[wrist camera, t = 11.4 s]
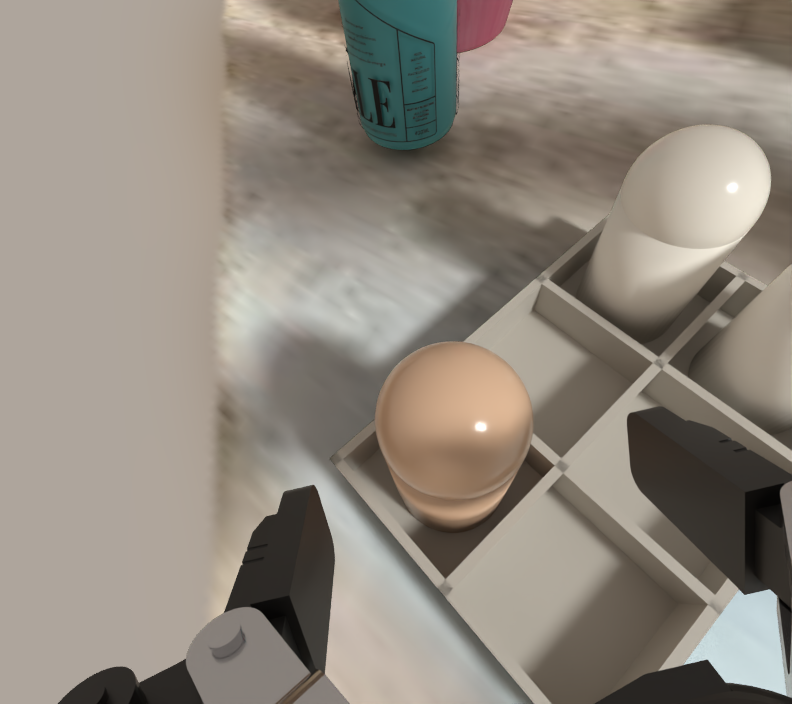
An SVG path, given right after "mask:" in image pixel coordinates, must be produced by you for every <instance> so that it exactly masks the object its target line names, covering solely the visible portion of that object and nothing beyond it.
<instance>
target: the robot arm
mask: <svg viewBox="0 0 792 704" xmlns="http://www.w3.org/2000/svg"><path fill="white" fill-rule="evenodd" d="M627 433H628V446H629V458H630V469H631V473H632V476H633V479H634V481H635V483H636V485H637V487H638V488H639V490H640V491H641V492H642V493H643V494H644V495H645V496H646V497H647V498H648V499H649V500H650V501H651V502H652V503H653V504H654V505H655V506H656V507H657V508H658V509H659V510H660V511H661V512H662V513H663V514H664V515H665V516H666V517H667V518H668V519H669V520H670V521H671V522H672V523H673V524H674V525H675V526H676V527H677V528H678V529H679V530H680V531H681V532H682V533H683V534H684V535H685V536H686V537H687V538H688V539H689V540H690V541H691V542H692V543H693V544H694V545H695V546H696V547H697V548H698V549H699V550H700V551H701V552H702V553H703V554H704V555H705V556H706V557H707V558H708V559H709V560H710V561H711V562H712V563H713V564H714V565H715V566H716V567H717V568H718V569H719V570H720V571H721V572H722V573H723V574H724V575H725V576H726V577H727V578H728V579H729V580H730V581H731V582H732V583H733V584H734V585H735V586H736V587H737V588H738V589H739V590H740V591H741V592H742V593H743V594H744V595H746V594H750V593H755V592H759V591H763V590H768V589H770V590H771V591H773V592H774V593H775V594H776V595H777V617H778V625H779V633H780V642H781V650H782V659H783V667H784V675H785V684H786V693H787V696H785V695H782V694H779V693H776V692H773V691H769V690H765V689H761V688H757V687H753V686H747V685H741V684H734V683H725V682H724V680H723V679H722V678H721V676H720V675H719V674H718V673H717V671H716V670H715V669H714V667H713V666H712V665H711V664H710V662H709V661H708V660H704V661H699V662H695V663H691V664H686V665H682V666H678V667H673V668H669V669H665V670H660V671H656V672H652V673H647V674H644V675H642V676H641V677H639V678H637V679H636V680H634V681H632V682H630V683H629V684H627V685H625V686H624V687H622V688H620V689H618V690H617V691H615V692H613V693H612V694H610V695H608V696H606V697H605V698H603V699H601V700H600V701H598V702H596V703H595V704H792V474H790V473H788V472H787V471H785V470H783V469H782V468H780V467H778V466H777V465H775V464H773V463H772V462H770V461H768V460H767V459H765V458H763V457H762V456H760V455H758V454H757V453H755V452H753V451H752V450H747V448H746V447H745V446H743V445H742V444H740V443H738V442H737V441H735V440H734V441H732V440H731V438H730V437H728V436H727V435H725V434H723V433H722V432H720V431H718V430H717V429H715V428H713V427H710V426H707V425H704V424H701V423H697V422H694V421H691V420H687V421H685V420H684V419H682V418H681V417H679V416H677V415H676V414H674V413H673V412H671V411H669V410H668V409H666V408H665V407H662V406H657V407H653V408H649V409H644V410H640V411H636V412H631V413H629V414H628V416H627ZM242 563H243V565H241V567H240V570H239V572H238V575H237V578H236V581H235V584H234V586H233V589H232V592H231V595H230V597H229V600H228V603H227V606H226V609H225V611H224V613H223V614H221V615H220V616H218V617H216V618H215V619H213V620H212V621H211V622H210V623H208V624H207V625H206V626H205V627H204V628H203V629H202V630H201V631H200V632H199V633H198V634H197V636H196V637H195V639H194V640H193V641H192V643H191V645H190V647H189V649H188V652H187V657H186V659H185V660H183V661H181V662H179V663H178V664H176V665H174V666H172V667H170V668H168V669H166V670H164V671H162V672H160V673H158V674H156V675H154V676H152V677H150V678H148V679H146V680H144V681H142V682H140V683H139V682H138V680H137V678H136V676H135V674H134V673H133V671H132V670H131V669H129V668H126V667H113V668H109V669H106V670H103V671H100V672H99V673H96V674H94V675H92V676H91V677H89V678H87V679H86V680H84V681H83V682H81V683H80V684H79V685H77V686H76V687H75V688H74V689H72V690H71V691H70V692H69V693H68V694H67V695H66V696H65V697H63V699H62V700H61V701H60V702H59V703H58V704H349V702H348V701H347V700H346V699H345V698H344V696H343V695H342V694H341V693H340V692H339V690H338V689H337V688H336V687H335V686H334V685H333V683H332V682H331V681H330V680H329V679H328V677H327V676H326V675H325V665H326V654H327V642H328V631H329V620H330V609H331V598H332V586H333V575H334V564H335V554H334V546H333V540H332V536H331V533H330V529H329V526H328V523H327V520H326V516H325V513H324V510H323V507H322V504H321V500H320V497H319V494H318V491H317V489H316V487H315V486H314V485H310V486H306V487H302V488H297V489H293V490H289V491H285V492H284V493H283V496H282V499H281V502H280V506H279V509H278V512H277V514H275V515H270V516H266V517H265V518H264V520H263V521H262V522H261V523H260V524H259V526H258V527H257V528H256V529H255V530H254V532H253V533H252V536H251V539H250V542H249V545H248V547H247V552H246V553H245V556H244V558H243V561H242Z"/></svg>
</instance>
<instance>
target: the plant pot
mask: <svg viewBox="0 0 792 704" xmlns="http://www.w3.org/2000/svg"><path fill="white" fill-rule="evenodd" d="M512 1H513V0H457V13H458V16H459V15H460V16H459V17H458V41H457V53H459V52H464V51H468V50H472V49H475V48H478V47H480V46H482V45H485V44H486V43H488V42H490V41H491V40H493V39H494V38H495V37H496V36H497V35H498V34H499V33H500V32H501V31H502V29H503V28H504V26H505V23H506V20H507V17H508V14H509V11H510V8H511V5H512ZM459 8H460V10H459ZM459 19H460V22H459ZM459 29H460V32H459ZM459 33H460V34H459ZM459 41H460V42H459ZM459 44H460V45H459Z"/></svg>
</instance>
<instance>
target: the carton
mask: <svg viewBox="0 0 792 704" xmlns="http://www.w3.org/2000/svg"><path fill="white" fill-rule="evenodd" d="M608 217H609V215H608V216H606V217H605V218H604V219H603V220H602V221H601V222H600V223H598V224H597V225H596V226H595V227H594V228H593V229H592V230H590V231H589V232H588V233H587V234H586V235H585V236H584V237H582V238H581V239H580V240H579V241H578V242H577V243H575V244H574V245H573V246H572V247H571V248H570V249H569V250H567V251H566V252H565V253H564V254H563V255H562V256H561V257H559V258H558V259H557V260H556V261H555V262H554V263H553V264H551V265H550V266H549V267H548V268H547V269H546V270H545V271H543V272H542V273H541V274H540V275H539V276H538V277H537V278H535V279H534V280H533V281H532V282H531V283H530V284H529V285H527V286H526V287H525V288H524V289H523V290H522V291H521V292H519V293H518V294H517V295H516V296H515V297H514V298H513V299H511V300H510V301H509V302H508V303H507V304H506V305H505V306H503V307H502V308H501V309H500V310H499V311H498V312H497V313H495V314H494V315H493V316H492V317H491V318H490V319H489V320H487V321H486V322H485V323H484V324H483V325H482V326H481V327H479V328H478V329H477V330H476V331H475V332H474V333H473V334H471V335H470V336H469V337H468V338H467V339H466V340H465V341H463V342H467V343H472V344H475V345H479V346H481V347H484V348H486V349H488V350H490V351H492V352H493V353H495V354H497V355H498V356H500V357H501V358H502V359H504V360H505V361H506V362H507V363H508V364H509V365H510V366H511V367H512V368H513V369H514V370H515V371H516V373H517V374H518V375H519V377H520V378H521V380H522V382H523V383H524V385H525V387H526V390H527V392H528V394H529V397H530V400H531V404H532V410H533V420H534V428H533V436H532V440H531V444H530V447H529V450H528V453H527V455H526V457H525V459H524V461H523V463H522V465H521V467H520V468H519V470H518V472H517V474H516V476H515V477H514V479H513V481H512V483H511V485H510V486H509V488H508V490H507V492H506V493H505V495H504V497H503V499H502V501H501V502H500V504H499V506H498V508H497V509H496V511H495V512H494V513H493V515H492V516H491V517H490V518H489V519H488V520H487V521H486V522H484V523H483V524H481V525H480V526H478V527H476V528H474V529H472V530H469V531H465V532H459V533H446V532H441V531H437V530H434V529H431V528H429V527H427V526H425V525H424V524H422V523H421V522H419V521H418V520H417V519H416V518H415V517H414V516H413V515H412V514H411V513H410V512H409V511H408V509H407V508H406V506H405V504H404V503H403V501H402V498H401V496H400V494H399V491H398V489H397V487H396V484H395V482H394V479H393V477H392V475H391V472H390V470H389V468H388V465H387V463H386V461H385V458H384V456H383V454H382V451H381V449H380V446H379V443H378V439H377V435H376V428H375V419H374V420H373V421H372V422H371V423H370V424H368V425H367V426H366V427H365V428H364V429H363V430H362V431H360V432H359V433H358V434H357V435H356V436H355V437H354V438H352V439H351V440H350V441H349V442H348V443H347V444H346V445H344V446H343V447H342V448H341V449H340V450H339V451H338V452H336V453H335V454H334V455H333V456H332V457H331V458H330V460H331V461H332V463H333V464H334V465H335V466H336V467H337V469H338V470H339V471H340V472H341V473H342V475H343V476H344V477H345V478H346V479H347V481H348V482H349V483H350V484H351V485H352V486H353V488H354V489H355V490H356V491H357V492H358V494H359V495H360V496H361V497H362V498H363V500H364V501H365V502H366V503H367V504H368V506H369V507H370V508H371V509H372V510H373V512H374V513H375V514H376V515H377V516H378V518H379V519H380V520H381V521H382V522H383V524H384V525H385V526H386V527H387V528H388V530H389V531H390V532H391V533H392V534H393V536H394V537H395V538H396V539H397V540H398V542H399V543H400V544H401V545H402V546H403V547H404V549H405V550H406V551H407V552H408V553H409V555H410V556H411V557H412V558H413V559H414V561H415V562H416V563H417V564H418V565H419V567H420V568H421V569H422V570H423V571H424V573H425V574H426V575H427V576H428V577H429V579H430V580H431V581H432V582H433V583H434V585H435V586H436V587H437V588H438V589H439V591H440V592H441V593H442V594H443V595H444V597H445V598H446V599H447V600H448V601H449V602H450V604H451V605H452V606H453V607H454V608H455V610H456V611H457V612H458V613H459V614H460V616H461V617H462V618H463V619H464V620H465V622H466V623H467V624H468V625H469V626H470V628H471V629H472V630H473V631H474V632H475V634H476V635H477V636H478V637H479V638H480V640H481V641H482V642H483V643H484V644H485V646H486V647H487V648H488V649H489V650H490V652H491V653H492V654H493V655H494V656H495V658H496V659H497V660H498V661H499V662H500V663H501V665H502V666H503V667H504V668H505V669H506V671H507V672H508V673H509V674H510V675H511V677H512V678H513V679H514V680H515V681H516V683H517V684H518V685H519V686H520V687H521V689H522V690H523V691H524V692H525V693H526V695H527V696H528V697H529V698H530V699H531V701H532V702H533V703H534V704H595V703H596V702H598V701H600V700H601V699H603V698H605V697H606V696H608V695H610V694H612V693H613V692H615V691H617V690H618V689H620V688H622V687H624V686H625V685H627V684H629V683H630V682H632V681H634V680H636V679H637V678H639V677H641V676H642V675H644V674H647V673H652V672H656V671H660V670H665V669H669V668H673V667H678V666H682V665H683V664H684V663H685V662H686V660H687V659H688V658H689V656H690V655H691V653H692V652H693V651H694V649H695V648H696V647H697V645H698V644H699V643H700V641H701V640H702V639H703V637H704V636H705V635H706V633H707V632H708V631H709V629H710V628H711V626H712V625H713V624H714V622H715V621H716V620H717V618H718V617H719V616H720V614H721V613H722V612H723V610H724V609H725V608H726V606H727V605H728V603H729V602H730V601H731V599H732V598H733V597H734V595H735V594H736V593H737V591H738V590H739V589H738V588H737V587H736V586H735V585H734V584H733V583H732V582H731V581H730V580H729V579H728V578H727V577H726V576H725V575H724V574H723V573H722V572H721V571H720V570H719V569H718V568H717V567H716V566H715V565H714V564H713V563H712V562H711V561H710V560H709V559H708V558H707V557H706V556H705V555H704V554H703V553H702V552H701V551H700V550H699V549H698V548H697V547H696V546H695V545H694V544H693V543H692V542H691V541H690V540H689V539H688V538H687V537H686V536H685V535H684V534H683V533H682V532H681V531H680V530H679V529H678V528H677V527H676V526H675V525H674V524H673V523H672V522H671V521H670V520H669V519H668V518H667V517H666V516H665V515H664V514H663V513H662V512H661V511H660V510H659V509H658V508H657V507H656V506H655V505H654V504H653V503H652V502H651V501H650V500H649V499H648V498H647V497H646V496H645V495H644V494H643V493H642V492H641V491H640V490H639V488H638V487H637V485H636V483H635V481H634V479H633V476H632V473H631V469H630V458H629V446H628V433H627V416H628V414H629V413H631V412H636V411H640V410H644V409H649V408H653V407H657V406H662V407H665V408H666V409H668V410H669V411H671V412H673V413H674V414H676V415H677V416H679V417H681V418H682V419H684V420H685V421H687V420H691V421H694V422H697V423H701V424H704V425H707V426H710V427H713V428H715V429H717V430H718V431H720V432H722V433H723V434H725V435H727V436H728V437H730V438H731V440H732V441H734V440H735V441H737V442H738V443H740V444H742V445H743V446H745V447H746V448H747V450H752V451H753V452H755V453H757V454H758V455H760V456H762V457H763V458H765V459H767V460H768V461H770V462H772V463H773V464H775V465H777V466H778V467H780V468H782V469H783V470H785V471H787V472H788V473H790V474H792V428H791V429H789V430H787V431H784V432H782V433H779V434H775V435H769V434H768V433H766V432H765V431H763V430H762V429H760V428H759V427H758V426H756V425H755V424H753V423H752V422H751V421H749V420H748V419H746V418H745V417H743V416H742V415H741V414H739V413H738V412H736V411H735V410H733V409H732V408H731V407H729V406H728V405H726V404H725V403H724V402H722V401H721V400H719V399H718V398H716V397H715V396H714V395H712V394H711V393H709V392H708V391H706V390H705V389H704V388H702V387H701V386H699V385H698V384H697V383H695V382H694V381H692V380H691V379H689V368H690V364H691V361H692V359H693V358H694V356H695V355H696V353H697V352H698V351H699V350H700V349H701V348H702V347H704V346H705V345H706V344H707V343H708V342H709V341H710V340H711V339H712V338H713V337H714V336H715V335H716V334H717V333H718V332H719V331H721V330H722V329H723V328H724V327H725V326H726V325H727V324H728V323H729V322H730V321H731V320H732V319H733V318H734V317H735V316H736V315H738V314H739V313H740V312H741V311H742V310H743V309H744V308H745V307H746V306H747V305H748V304H749V303H750V302H751V301H752V300H753V299H755V298H756V297H757V296H758V295H759V294H760V293H761V292H762V291H763V290H764V289H765V288H766V287H767V285H766V284H764V283H762V282H760V281H759V280H757V279H755V278H753V277H752V276H750V275H748V274H746V273H745V272H743V271H741V270H739V269H738V268H736V267H734V266H732V265H731V264H729V263H727V262H725V261H724V262H723V263H722V264H721V265H720V267H719V268H718V269H717V270H716V271H715V273H714V274H713V275H712V276H711V277H710V279H709V280H708V281H707V282H706V284H705V285H704V286H703V287H702V288H701V290H700V291H699V292H698V293H697V294H696V296H695V297H694V298H693V299H692V301H691V302H690V303H689V304H688V305H687V307H686V308H685V309H684V310H683V312H682V313H681V314H680V315H679V316H678V318H677V319H676V320H675V321H674V322H673V324H672V325H671V326H670V327H669V329H668V330H667V331H666V332H665V333H664V334H663V335H662V336H660V337H659V338H657V339H655V340H653V341H651V342H647V343H643V344H640V343H638V342H637V341H635V340H634V339H633V338H631V337H630V336H628V335H627V334H625V333H624V332H623V331H621V330H620V329H618V328H617V327H616V326H614V325H613V324H611V323H610V322H608V321H607V320H606V319H604V318H603V317H601V316H600V315H598V314H597V313H596V312H594V311H593V310H591V309H590V308H589V307H587V306H586V305H584V304H583V303H581V302H580V301H579V300H577V299H576V294H577V290H578V288H579V285H580V283H581V281H582V278H583V276H584V273H585V271H586V269H587V266H588V264H589V262H590V259H591V257H592V255H593V252H594V250H595V248H596V245H597V243H598V240H599V238H600V236H601V233H602V231H603V229H604V226H605V224H606V222H607V219H608Z"/></svg>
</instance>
